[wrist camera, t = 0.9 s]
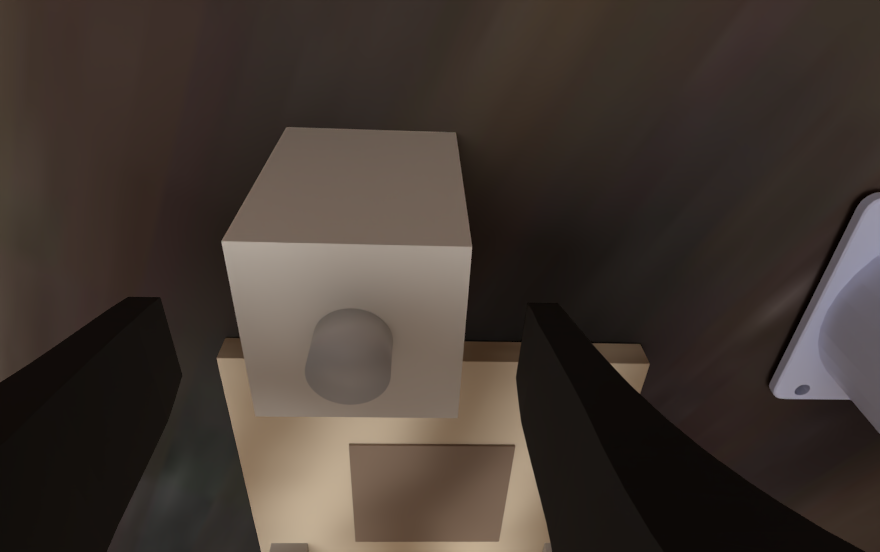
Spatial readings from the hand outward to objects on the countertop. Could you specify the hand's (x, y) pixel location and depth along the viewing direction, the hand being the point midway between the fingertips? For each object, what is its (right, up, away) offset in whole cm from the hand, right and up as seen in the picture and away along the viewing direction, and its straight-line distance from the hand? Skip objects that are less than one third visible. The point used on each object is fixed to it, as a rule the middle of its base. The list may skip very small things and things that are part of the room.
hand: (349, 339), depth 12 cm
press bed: (+1, -8, +12) cm, 14 cm away
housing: (0, +3, +5) cm, 6 cm away
